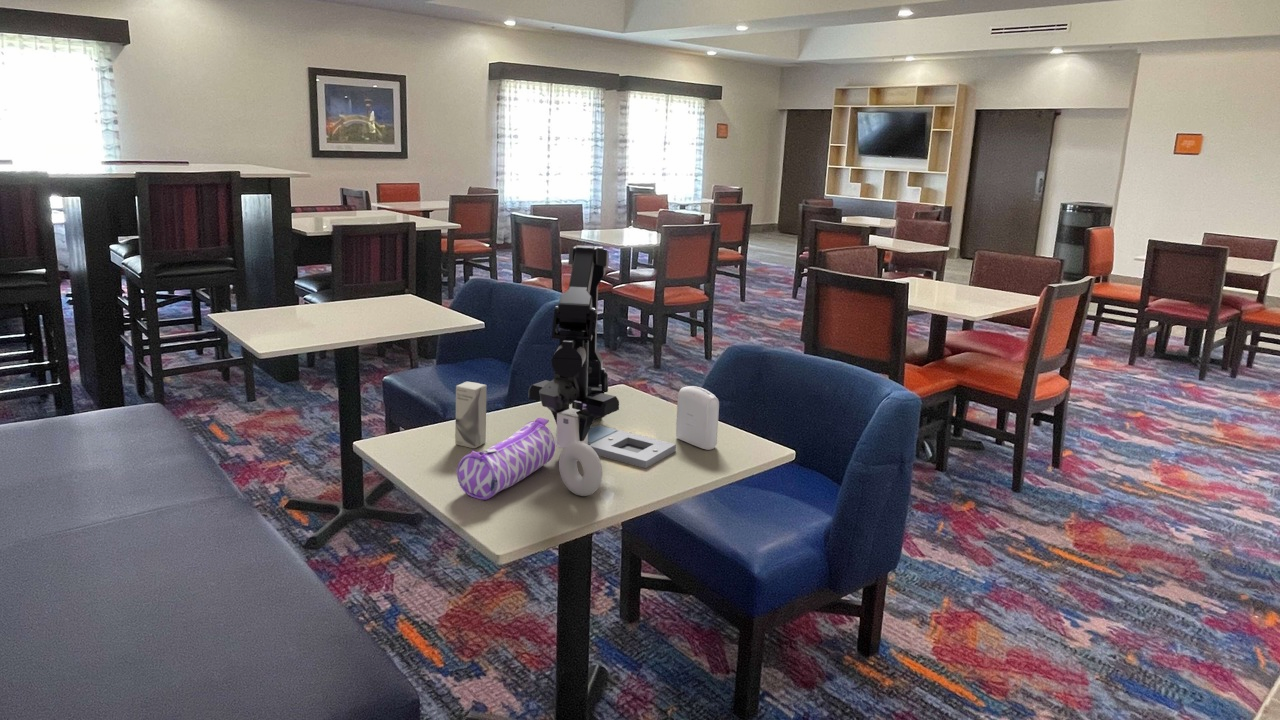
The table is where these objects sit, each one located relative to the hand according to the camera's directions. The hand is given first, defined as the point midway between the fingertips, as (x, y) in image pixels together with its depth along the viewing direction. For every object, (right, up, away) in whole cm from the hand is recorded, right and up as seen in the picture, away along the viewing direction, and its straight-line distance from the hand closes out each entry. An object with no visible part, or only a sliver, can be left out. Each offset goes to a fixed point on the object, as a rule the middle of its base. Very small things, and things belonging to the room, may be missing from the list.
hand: (572, 438), depth 167 cm
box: (-22, -2, +5) cm, 22 cm away
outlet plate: (+12, -3, +5) cm, 13 cm away
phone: (+4, -1, +12) cm, 12 cm away
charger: (0, -2, 0) cm, 2 cm away
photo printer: (+26, -2, +11) cm, 28 cm away
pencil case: (-11, -7, -12) cm, 18 cm away
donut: (+3, -9, -17) cm, 20 cm away
